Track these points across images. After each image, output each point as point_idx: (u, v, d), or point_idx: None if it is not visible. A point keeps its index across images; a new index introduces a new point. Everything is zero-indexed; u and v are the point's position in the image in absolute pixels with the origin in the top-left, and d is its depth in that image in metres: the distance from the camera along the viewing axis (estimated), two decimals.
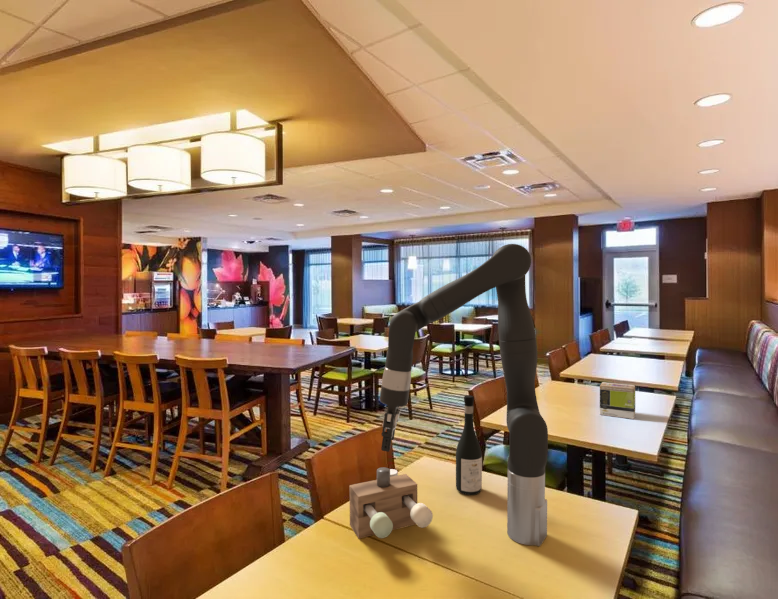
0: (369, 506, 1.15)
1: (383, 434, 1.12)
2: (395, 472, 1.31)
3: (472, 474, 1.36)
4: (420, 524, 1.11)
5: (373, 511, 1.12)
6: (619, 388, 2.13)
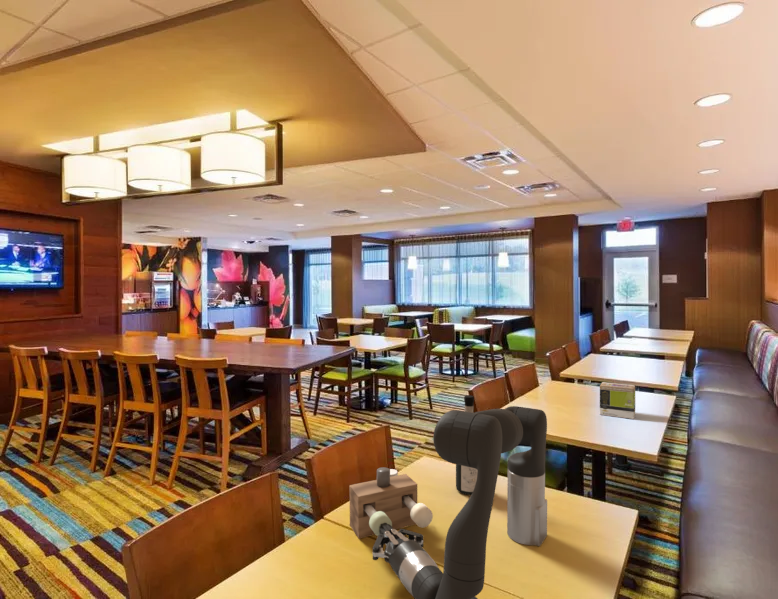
0: (368, 505, 1.15)
1: None
2: (395, 472, 1.31)
3: (472, 474, 1.36)
4: (420, 524, 1.11)
5: (372, 510, 1.13)
6: (619, 388, 2.13)
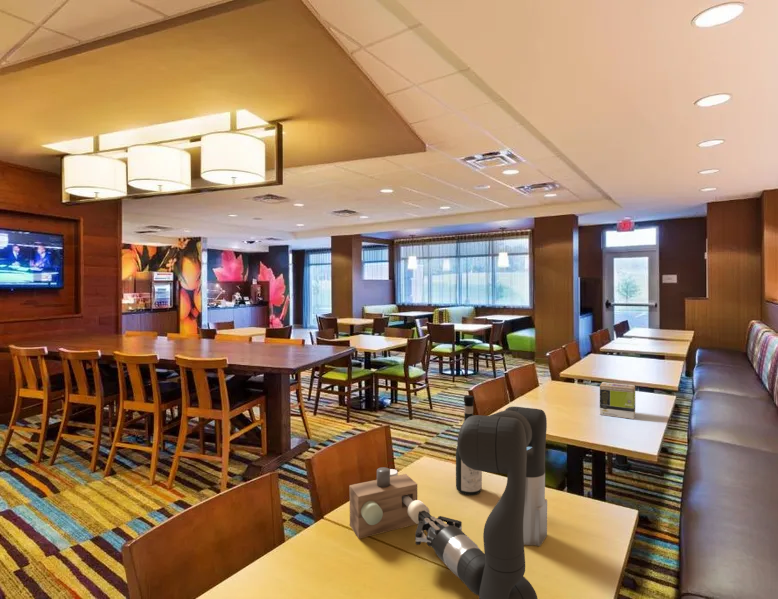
0: None
1: None
2: (395, 472, 1.31)
3: (472, 474, 1.36)
4: (417, 521, 1.12)
5: None
6: (619, 388, 2.13)
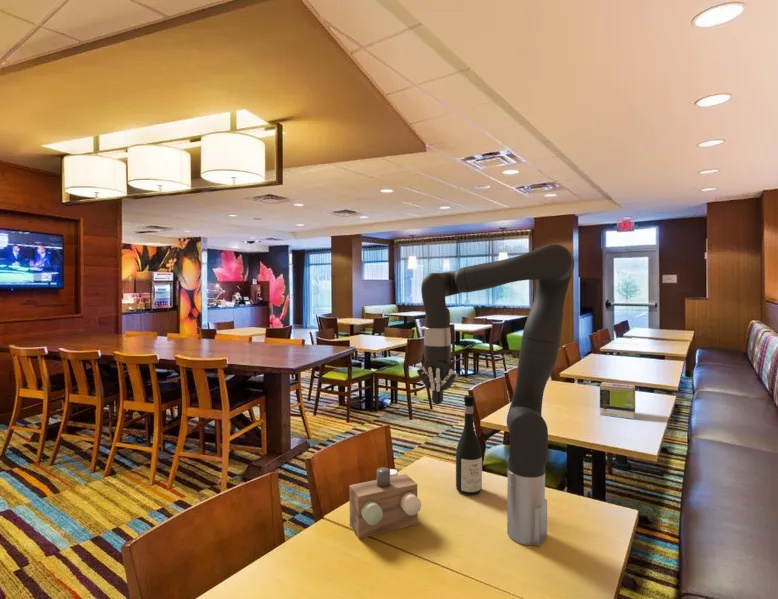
0: None
1: (445, 389, 1.25)
2: (395, 472, 1.31)
3: (472, 474, 1.36)
4: (409, 512, 1.16)
5: None
6: (619, 388, 2.13)
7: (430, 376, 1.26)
